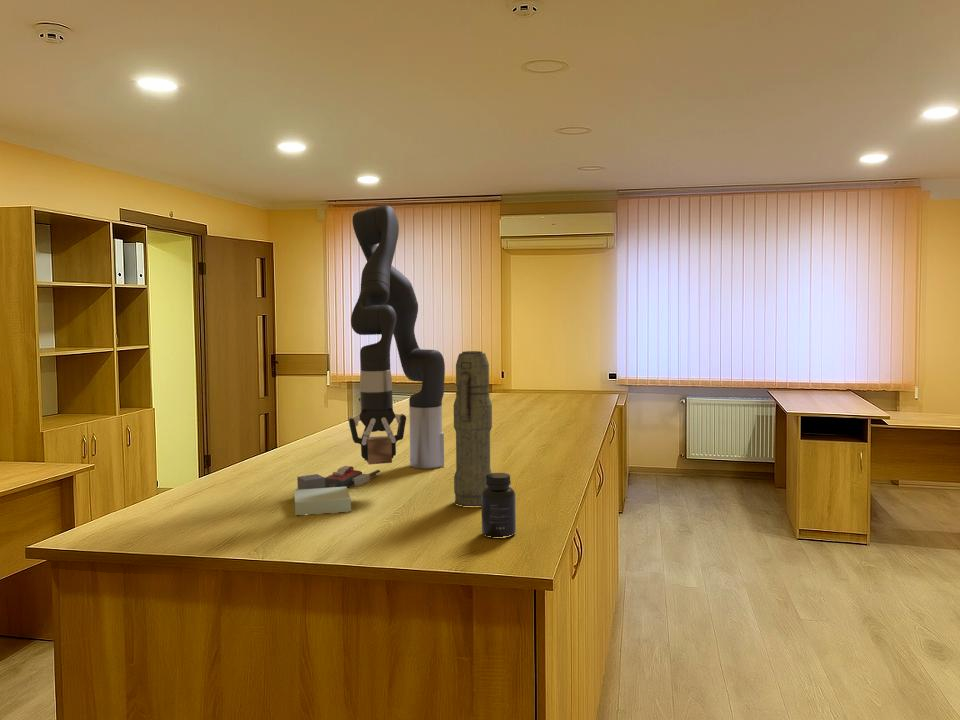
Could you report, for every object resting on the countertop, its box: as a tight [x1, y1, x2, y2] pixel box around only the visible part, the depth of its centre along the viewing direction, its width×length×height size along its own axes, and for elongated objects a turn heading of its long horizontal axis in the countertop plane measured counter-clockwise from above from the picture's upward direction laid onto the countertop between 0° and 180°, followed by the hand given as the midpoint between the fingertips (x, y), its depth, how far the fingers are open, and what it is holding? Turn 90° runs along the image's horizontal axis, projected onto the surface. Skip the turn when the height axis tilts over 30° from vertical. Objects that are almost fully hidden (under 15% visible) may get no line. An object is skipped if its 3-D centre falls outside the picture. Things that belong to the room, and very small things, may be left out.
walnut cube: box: [366, 435, 393, 466], centre depth 184 cm, size 6×6×6 cm
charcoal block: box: [296, 473, 325, 490], centre depth 184 cm, size 5×5×5 cm
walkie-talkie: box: [324, 465, 381, 489], centre depth 200 cm, size 9×4×20 cm
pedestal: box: [294, 487, 352, 516], centre depth 175 cm, size 12×12×3 cm
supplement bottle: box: [480, 472, 517, 537], centre depth 152 cm, size 7×7×12 cm
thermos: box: [453, 350, 493, 506], centre depth 176 cm, size 9×12×35 cm
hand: (378, 458), depth 184 cm, fingers closed on walnut cube, 5 cm apart
